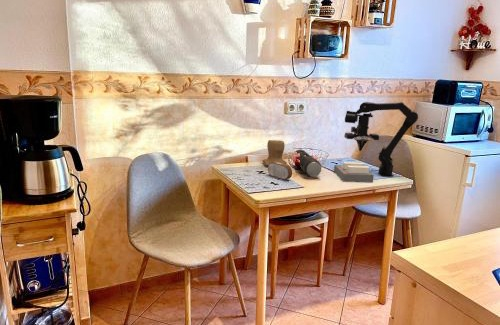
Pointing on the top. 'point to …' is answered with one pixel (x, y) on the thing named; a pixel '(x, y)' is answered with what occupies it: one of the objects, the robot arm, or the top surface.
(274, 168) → the brown grey oval slab
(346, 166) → the toggle
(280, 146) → the brown flared block
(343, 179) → the switch box
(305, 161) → the dark grey cylinder
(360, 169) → the toggle
